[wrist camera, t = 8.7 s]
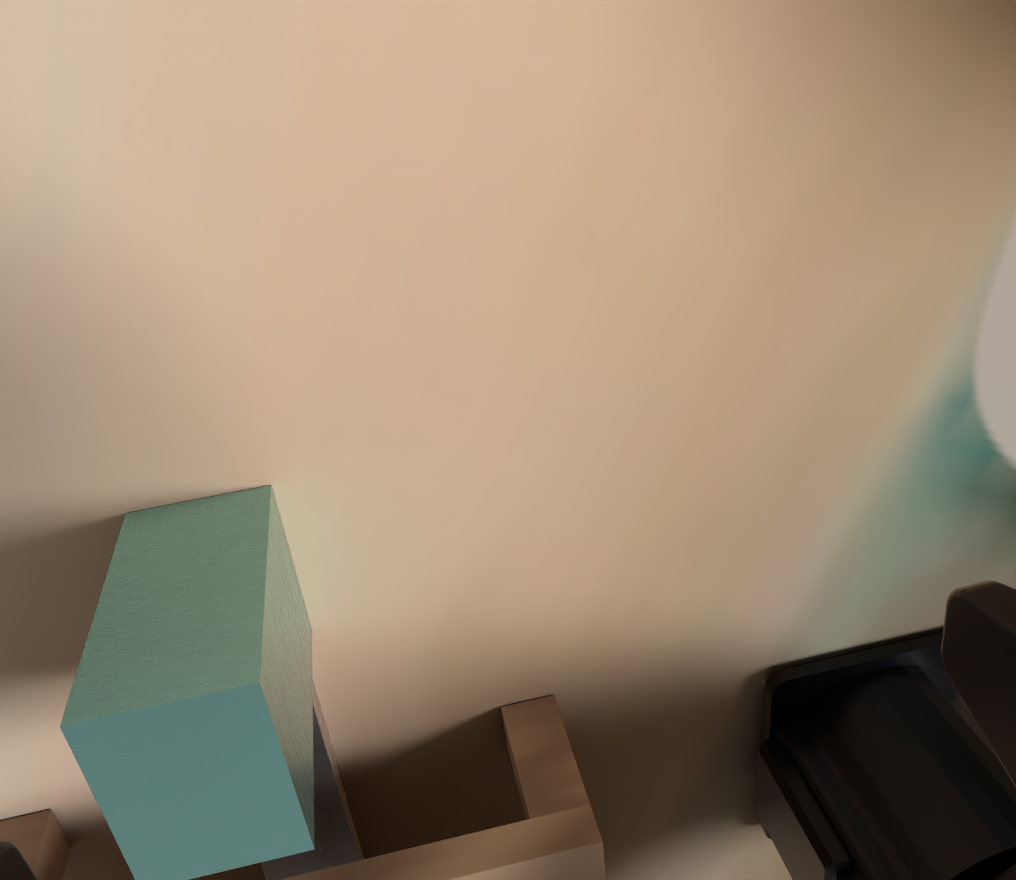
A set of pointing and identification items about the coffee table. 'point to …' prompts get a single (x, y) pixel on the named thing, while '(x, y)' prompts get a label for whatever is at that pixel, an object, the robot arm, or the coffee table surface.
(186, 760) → the teal block
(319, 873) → the low stand
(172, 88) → the coffee table surface
